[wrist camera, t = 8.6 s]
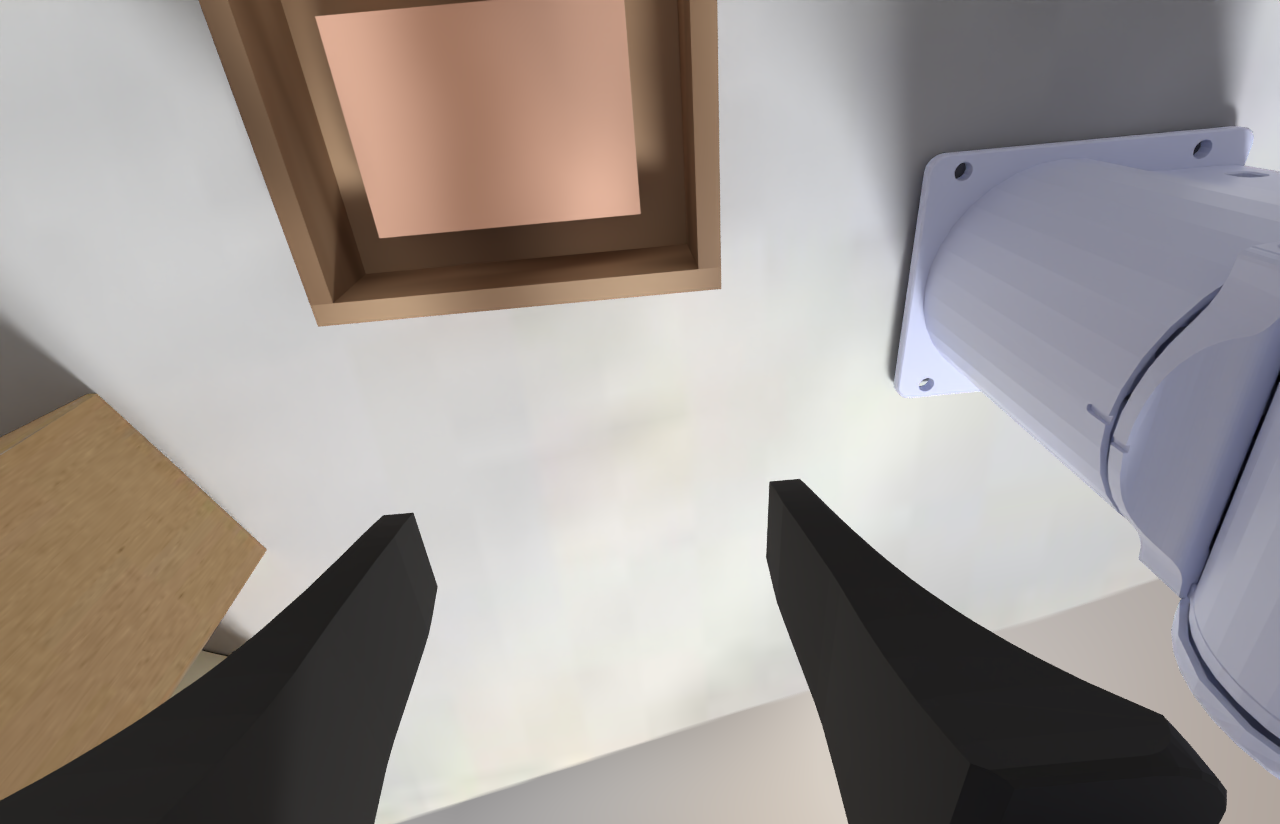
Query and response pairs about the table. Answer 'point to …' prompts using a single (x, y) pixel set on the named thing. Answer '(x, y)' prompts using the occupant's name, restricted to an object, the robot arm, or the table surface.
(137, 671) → the sandwich container
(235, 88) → the walnut box
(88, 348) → the table surface
